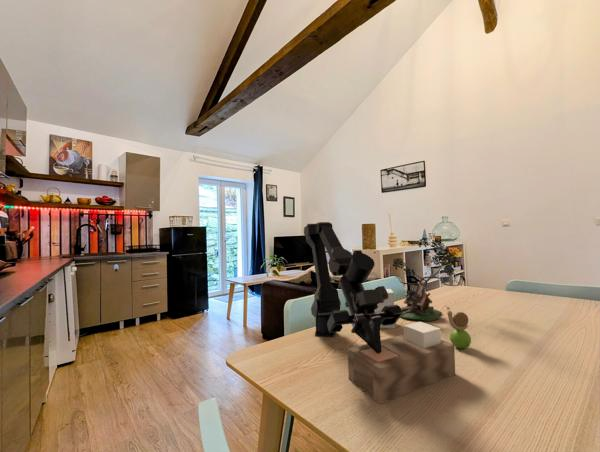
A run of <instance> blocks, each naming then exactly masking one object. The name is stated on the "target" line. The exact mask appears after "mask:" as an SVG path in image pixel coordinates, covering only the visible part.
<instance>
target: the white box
mask: <svg viewBox="0 0 600 452" xmlns="http://www.w3.org/2000/svg"><path fill="white" fill-rule="evenodd" d="M403 335H404V340H406V341H408V342H410V343H413V344H415V345H417V346H419V347H422V348H424V349H425V348H428V347H431V346H435V345H438V344H441V340H442V337H441V335H442V334H441V328H440V327H438V326H437V327H436V326H434V325H431V324H429V323H425V322H423V321H417V322H413V323H412V322H411V323H408V324H405V325H404V324H403Z"/></svg>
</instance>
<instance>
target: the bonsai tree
mask: <svg viewBox="0 0 600 452" xmlns="http://www.w3.org/2000/svg"><path fill="white" fill-rule="evenodd" d="M429 239H430V238H429V237H422V238H420V239H419V241H418V244H417V246H418V247H419V248H421V247H422V246H424V247H425V249H426V250H427V251H429V250H428V248H427V246H430V247H431V248H433V250H434V251H436V249H439V250H437V251H436V254H434V255H433V256H432V258H431V259H430V261H429V263H428V264H429V267H430V269H431V274H430V275H429V276H424V277H420V276H419V275H417V273H416V272H415V270H414V268H413V269H411V268H410V267H408V266H407V264H406V263H405V262H404V260H403V258H400V257H398V258H396V257H395V259H393V261H392V262H393V264H392V267H394V269H395V271H397V270H398V268H400V269H401V270H402V269H403V271H404V272H405V273H404V274H405V275H407V278H410V277H413V278H416V277H417V278H419V279H420V280H419V284H418V283H416V282H415V283H414V282H403V281H402V280H401V279H400V277H398V276H400V274H397V275H396V276H395V278H396V279H398V281H399V282H400V283H401V284H403V285H413V286H417V288H416V289H415V290H408V288H407V289H406V290H405V291H406V292H405V293H406V294H405V299H404V301H403V303H404V304H406V305H405V306H400V308H401V309H402V311H403V315H402V316H401V317H400V318H403V319H406V320H416V321H421V322H423V321H424V322H433V321H435V320H438V319H439V318H440V315H442V314H443V312H442V311H440V310H437V309H434V308H435V307H434V306H430V304H432V303H433V300H432V299H430V297H429V296H430V295H431V293H430V292H428V293H427V292H426V287H427V285H428V282H429V281H430V280H432V279H439V280H441V281H442V284H443V285H445V286H448V287H458V286H459V285H460V283H459V282H458V281H457V280H453V281H450V283H452V284H448V283H445V279H444V278H442V277H439V276H436V275H437V274H441V273H444V272H445V273H446V274H447V276H448V277H449V278H451V276H452V275H455V271H457V272H458V270H457V269H454V267H453V265H450V264H452V263H454V262H455V263H457V262H458V260H457V259H458V257H457V254H456V252H455V251H451V252H450V249H447V248H446V247H445V246H446V245H445V244H444V243H443V240H442V238H441V239H440V238H436V239H432V241H431V243H429V242H427V240H429ZM443 261H445V262H446V263H444V264H443ZM447 261H448V263H447ZM431 263H433V264H434V265H436V266H439V269H438V270H437V271H436V272H435V273H434V271H433V269H432V266H431ZM441 264H443V265H441ZM443 266H444V267H443ZM404 267H406V268H404ZM422 281H423V283H422ZM454 282H456V283H457V284H453V283H454ZM420 285H421V287H420ZM419 290H420V293H418V292H419Z"/></svg>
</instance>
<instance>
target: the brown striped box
mask: <svg viewBox="0 0 600 452" xmlns="http://www.w3.org/2000/svg"><path fill="white" fill-rule="evenodd" d="M381 347H383V348H385V349H387V350H389V351H391V352H393V353H395V354H397V355H399V357H396V358H392V359H389V360H386V361H383V362H379V363H378V362H376V361H375V360H373V359H371V358H370V357H368V356H366V355H364V354H363V353H361V352H360V351H362V350H366V349H370V348H371V347H370V346H369V345H368V344H367V343H365V344H362V345H358V346H354V347H351V348H348V349H347V365H348V367H347V368H348V369H347V370H348V380H350V381H351V382H352V383H353V384H354V385H356V386H357V387H358V388H360V389H361V390H362V391H363V392H364V393H366V394H368V395H369V396H370V397H371V398H373V399H374V400H375V401H376V402H378V403H379V404H384V403H385V402H387V401H391V400H394V399H395V398H399V397H401V396H403V395H406V394H408V393H411V392H414V391H416V390H417V389H421V388H424V387H426V386H428V385H430V384H434V383H436V382H438V381H441V380H443V379H446V378H448V377H450V376H453V375H456V357H455V356H456V355H455V354H456V353H455V350H456V348H455V346H454V344H452V343H451V342H448V341H446V340H443V339H441V344H438V345H435V346H431V347H428V348H425V349H424V348H422V347H419V346H417V345H415V344H413V343H410V342H408V341H406V340H404V334H401V335H397V336H393V337H388V338H385V339H381Z"/></svg>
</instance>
